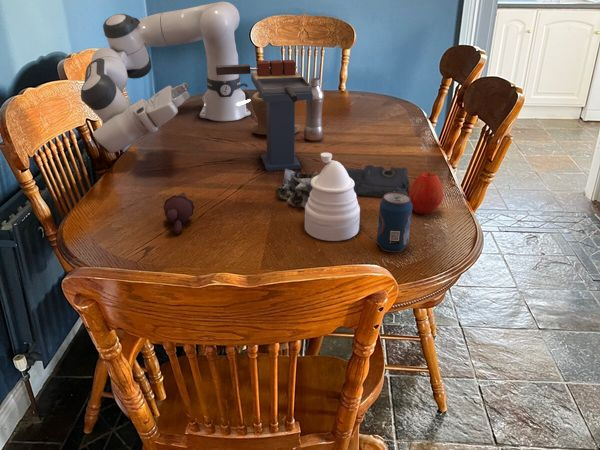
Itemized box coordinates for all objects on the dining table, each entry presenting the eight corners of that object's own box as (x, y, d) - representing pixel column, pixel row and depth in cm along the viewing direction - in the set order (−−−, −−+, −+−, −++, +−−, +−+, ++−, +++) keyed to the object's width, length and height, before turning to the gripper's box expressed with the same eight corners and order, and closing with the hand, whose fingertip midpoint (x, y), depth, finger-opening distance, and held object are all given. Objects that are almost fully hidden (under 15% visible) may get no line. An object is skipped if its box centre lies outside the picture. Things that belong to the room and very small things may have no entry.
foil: (329, 176, 153) (320, 164, 139) (321, 215, 153) (312, 208, 138) (287, 169, 156) (275, 157, 141) (279, 208, 155) (266, 200, 140)
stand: (253, 150, 179) (251, 73, 168) (293, 148, 182) (294, 72, 170) (265, 181, 158) (263, 95, 147) (310, 177, 161) (312, 93, 150)
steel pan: (257, 84, 157) (256, 77, 157) (302, 82, 160) (303, 75, 159) (268, 104, 140) (268, 96, 139) (320, 101, 143) (320, 94, 142)
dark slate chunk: (329, 171, 165) (330, 156, 162) (406, 176, 162) (408, 161, 160) (324, 193, 151) (325, 177, 149) (408, 199, 149) (410, 182, 146)
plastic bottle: (323, 136, 192) (325, 76, 182) (322, 143, 186) (324, 81, 177) (304, 135, 192) (305, 76, 183) (302, 142, 186) (303, 81, 177)
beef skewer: (216, 75, 162) (215, 62, 160) (295, 72, 166) (295, 59, 164) (217, 78, 159) (216, 65, 157) (297, 75, 163) (298, 62, 161)
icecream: (164, 184, 140) (151, 216, 127) (193, 177, 139) (183, 209, 126) (174, 207, 144) (163, 241, 131) (202, 201, 143) (193, 235, 130)
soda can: (376, 237, 131) (380, 189, 125) (406, 239, 130) (412, 191, 124) (376, 252, 124) (381, 203, 119) (408, 254, 124) (414, 205, 118)
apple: (446, 216, 140) (452, 176, 135) (416, 220, 138) (421, 179, 133) (430, 202, 147) (436, 163, 142) (401, 206, 145) (406, 166, 140)
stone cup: (246, 138, 190) (244, 93, 183) (258, 127, 200) (257, 84, 193) (289, 142, 186) (290, 97, 179) (300, 131, 196) (300, 88, 189)
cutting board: (251, 74, 167) (251, 71, 166) (295, 73, 169) (295, 69, 169) (256, 83, 158) (256, 79, 158) (302, 81, 161) (302, 77, 160)
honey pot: (296, 234, 131) (297, 161, 123) (315, 211, 142) (316, 142, 133) (350, 245, 127) (354, 170, 119) (365, 220, 138) (370, 150, 129)
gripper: (153, 113, 172) (192, 89, 171) (152, 135, 154) (196, 108, 153) (141, 96, 168) (180, 71, 168) (138, 116, 151) (182, 88, 150)
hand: (187, 89), depth 160 cm, fingers open, 8 cm apart
